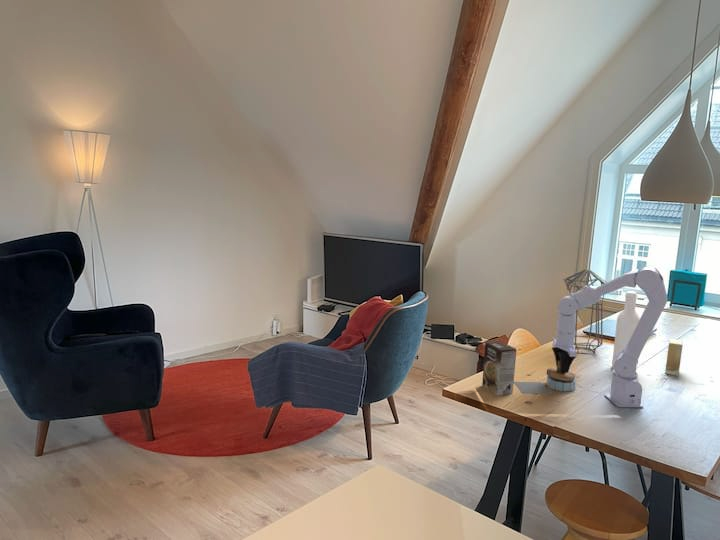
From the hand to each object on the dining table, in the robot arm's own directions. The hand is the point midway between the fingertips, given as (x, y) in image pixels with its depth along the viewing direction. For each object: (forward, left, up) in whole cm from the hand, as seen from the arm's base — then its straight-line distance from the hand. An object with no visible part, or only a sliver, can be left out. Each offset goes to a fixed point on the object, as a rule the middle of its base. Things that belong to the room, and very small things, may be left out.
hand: (562, 370), depth 176 cm
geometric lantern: (+42, -25, -6) cm, 49 cm away
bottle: (+20, -32, -6) cm, 38 cm away
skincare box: (+17, -49, -6) cm, 52 cm away
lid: (0, +1, -2) cm, 2 cm away
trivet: (-2, +11, -6) cm, 12 cm away
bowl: (0, 0, -6) cm, 6 cm away
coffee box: (-4, +23, -6) cm, 24 cm away
